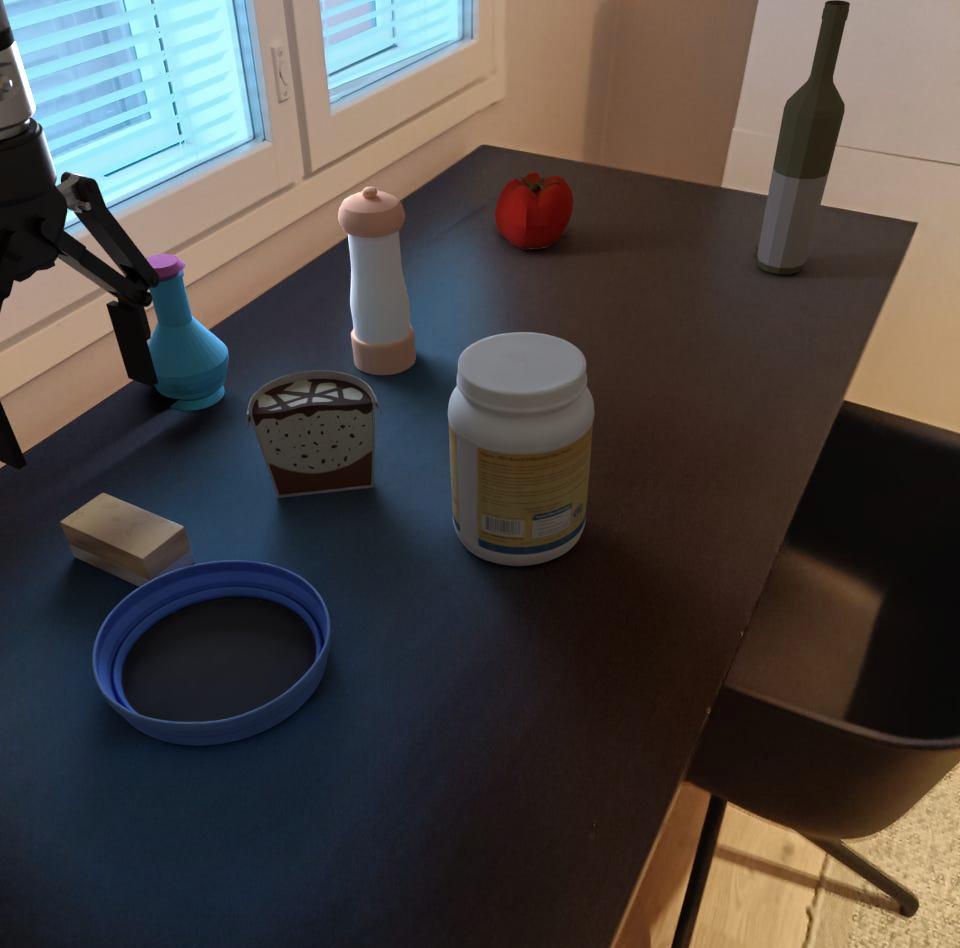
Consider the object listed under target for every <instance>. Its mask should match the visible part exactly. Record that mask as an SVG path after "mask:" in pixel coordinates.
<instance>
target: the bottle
mask: <svg viewBox="0 0 960 948" xmlns="http://www.w3.org/2000/svg"><path fill="white" fill-rule="evenodd" d="M850 7H851V3H850V2H849V1H845V0H827V1H825V2H824V6H823V8H822V14H821V23H820V27H819V33H818V37H817V40H816V46H815V52H814V57H813V61H812V66H811V70H810V74H809V77H808V79H807V80H806V81H805V83H803V84H802V85H801V86H800V87H799V88H798V89H797V90H796V91H795V92H794V93H792V95H791V96H790V97H789V98H788V99H787V100H786V102H785V104H784V107H783V111H782V118H781V122H780V128H779V133H778V139H777V143H776V144H777V145H776V150H775V155H774V161H773V165H772V171H771V178H770V183H769V188H768V194H767V199H766V205H765V210H764V215H763V221H762V226H761V232H760V237H759V243H758V248H757V252H756V264H757V267H758V268H760V269H761V270H763V271H765V272H767V273H770V274H774V273H775V274H774V275H793V274H796V273H799V272H801V271H802V269H803V268H804V267H805V265H806V263H807V260H808V255H809V251H810V248H811V245H812V244H811V243H812V239H813V236H814V231H815V228H816V224H817V220H818V217H819V212H820V209H821V205H822V202H823V197H824V193H825V189H826V185H827V182H828V178H829V175H830V170H831V165H832V162H833V159H834V155H835V150H836V147H837V142H838V138H839V134H840V132H841V127H842V123H843V119H844V115H845V108H846V107H845V102H844V100H843V98H842V96H841V94H840V92H839V91H838V89H837V87H836V84H835V82H834V75H835V70H836V66H837V61H838V57H839V52H840V48H841V45H842V40H843V35H844V30H845V26H846V22H847V20H848V16H849V12H850Z"/></svg>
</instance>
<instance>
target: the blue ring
mask: <svg viewBox="0 0 960 948" xmlns="http://www.w3.org/2000/svg"><path fill="white" fill-rule="evenodd" d="M332 628H333V627H332V621H331V618H330V614H329V611H328V607H327V605H326V603H325V601H324V599H323V598H322V596H321V594H320V593H319V592H318V591H317V589H316V588H315V587H314V586H313V585H312V584H311V583H310V582H309V581H308V580H306V579H305V578H304V577H302V576H300V575H299V574H298V573H295V572H293V571H291V570H289V569H287V568H284V567H281V566H279V565H275V564H272V563H267V562H261V561H255V560H246V559H245V560H243V559H225V560H213V561H207V562H201V563H196V564H192V565H190V566H187V567H183V568H180V569H177V570H174V571H171V572H169V573H166V574H164V575H161V576H159V577H157V578H155V579H153V580H151V581H149V582H147V583H146V584H144V585H142V586H141V587H139V586H138V588H135V590H133V591H131V593H129V594H128V595H126V596H125V597H124V598H123V599H122V600H121V601H120V602H119V603H117V605H116V606H115V607H113V608H112V610H111V611H110V612H109V614H108V615H107V616H106V618H105V619H104V621H103V623H102V625H100V627H99V630H98V632H97V634H96V637H95V640H94V642H93V643H94V644H93V649H92V659H91V662H92V672H93V676H94V679H95V683H96V685H97V687H98V690H99V692H100V694H101V695H102V697H103V699H104V700H105V701H106V702H107V704H108V705H109V706H110V707H111V708H112V709H114V711H115V712H116V713H117V714H119V715H120V716H121V717H123V718H124V720H125V721H126V722H128V724H130V725H131V726H132V727H133V728H135V729H136V730H138V731H139V732H141V733H142V734H145V735H147V736H148V737H151V738H154V739H156V740H159V741H163V742H167V743H169V744H170V743H171V744H176V745H183V746H199V747H201V746H213V745H214V746H216V745H224V744H228V743H233V742H237V741H241V740H245V739H247V738H250V737H253V736H256V735H258V734H261V733H262V732H265V731H267V730H270V729H271V728H273V727H276V726H277V725H278V724H280V723H282V722H284V721H285V720H286V719H287V718H289V717H290V716H292V715H293V714H295V712H297V711H298V710H299V709H300V708H301V707H303V706H304V704H305V703H306V702H308V700H309V699H310V698H311V696H313V694H314V692H315V691H316V689H317V688H318V686H319V684H320V683H321V681H322V679H323V676H324V674H325V671H326V667H327V663H328V657H329V653H330V649H331V645H332V637H333V636H332V635H333V629H332Z"/></svg>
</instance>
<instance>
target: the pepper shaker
mask: <svg viewBox="0 0 960 948" xmlns="http://www.w3.org/2000/svg"><path fill="white" fill-rule="evenodd" d="M337 212H338V213H337V221H338V223H339V225H340V228H341V229H342V231H344V232H345V233H346V234H347V241H348V251H349V260H350V270H351V271H350V291H349V292H350V293H349V306H350V312H351V313H350V314H351V319H352V326H353V328H352V329H351V332H350V339H351V346H352V347H351V348H352V355H353V356H352V357H353V363H354V366H355V367H356V368H357V369H358V370H359V371H361V372H363V373H364V374H369V375H373V376H391V375H395V374H400V373H403V372H405V371H407V370H409V369H411V368H412V367H413V366H414V365H415V363H416V361H417V353H416V352H417V351H416V339H415V331H414V330H415V329H414V327H413V325H411V307H410V305H411V304H410V303H411V302H410V298H409V294H408V289H407V285H406V282H405V275H404V271H403V263H402V253H401V242H400V241H401V239H400V230H401V229H402V227H403V225H404V223H405V221H406V216H407V215H406V212H405V209H404V205H403V204H402V202H401V201H400V199H399V198H397V196H395V195H393V194H391V193H388V192H385V191H382V190H381V191H380V190H377V188H375V187H374V186H366V187H364V188H363V189H362V190H361V191H358V192H355V193H354V194H351V195H349V196H348V197H346V198H344V199H343V201H342V202H341V204H340V206H339V208H338V211H337ZM415 360H416V361H415Z"/></svg>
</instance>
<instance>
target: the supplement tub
mask: <svg viewBox="0 0 960 948" xmlns="http://www.w3.org/2000/svg"><path fill="white" fill-rule="evenodd" d="M447 407H448V408H447V418H448V419H447V420H448V440H449V441H448V443H449V463H450V464H449V465H450V481H451V482H450V483H451V507H452V524H453V527H454V531H455V533H456V536H457V538H458V540H459V541H460V543H461V544H462V545H463V546H464V547H465V548H466V549H467V551H468V552H470V553H471V554H473V555H474V556H476V557H477V558H480V559H482V560H484V561H487V562H489V563H493V564H498V565H504V566H509V567H527V566H535V565H540V564H544V563H547V562H550V561H553V560H554V559H555V560H556V559H557V558H560V557H561V556H563V555H565V554H566V553H568V552H569V551H570V550H571V549H572V548H573V547H574V546H575V545H576V544H577V543H578V541H579V540H580V539H581V536H582V535H583V532H584V529H585V526H586V522H587V505H588V493H589V481H590V471H591V470H590V469H591V459H592V458H591V457H592V444H593V442H592V441H593V433H594V432H593V431H594V419H595V416H596V415H595V403H594V398H593V395H592V393H591V391H590V389H589V387H588V375H587V360H586V356H585V355H584V353H583V352H582V351H581V350H580V348H578V347H577V346H576V345H574V344H573V343H571V342H570V341H568V340H565V339H564V338H560V337H557V336H554V335H551V334H546V333H541V332H540V333H539V332H530V331H517V332H516V331H514V332H505V333H498V334H494V335H491V336H487V337H484V338H481V339H479V340H476V341H475V342H473V343H471V344H470V345H468V346H467V347H466V348H465V349H464V350H463V351H462V352H461V354H460V355H459V357H458V360H457V374H456V386H455V388H454V389H453V390H452V392H451V394H450V397H449V401H448V405H447Z"/></svg>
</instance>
